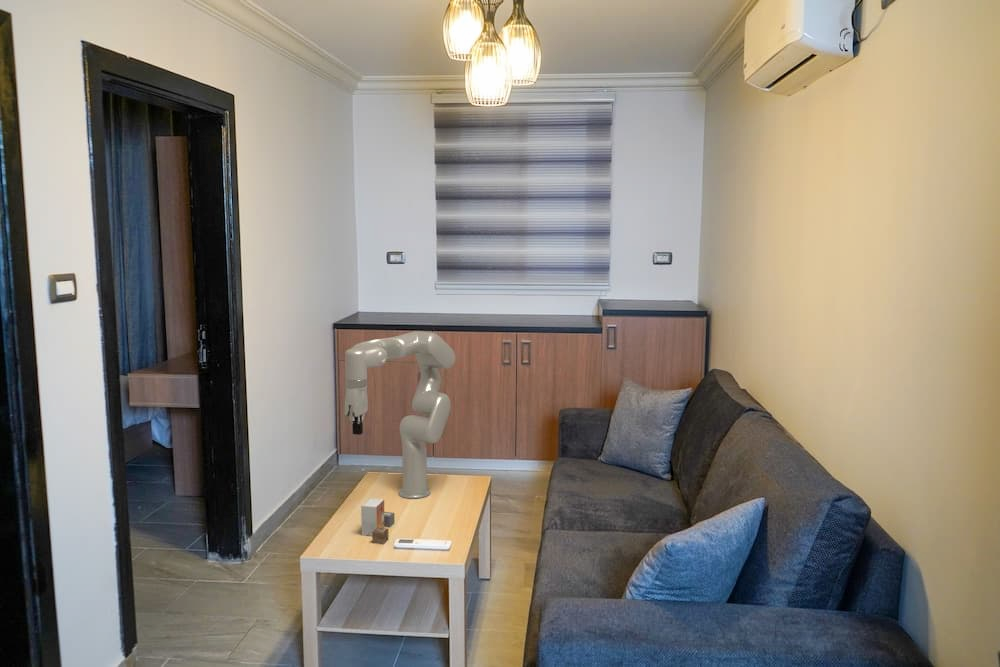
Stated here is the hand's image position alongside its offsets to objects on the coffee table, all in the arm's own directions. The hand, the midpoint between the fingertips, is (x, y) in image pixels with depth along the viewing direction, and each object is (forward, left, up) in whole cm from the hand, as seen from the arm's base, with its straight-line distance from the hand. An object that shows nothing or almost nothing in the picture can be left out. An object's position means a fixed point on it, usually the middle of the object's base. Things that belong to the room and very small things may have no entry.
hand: (357, 433), depth 267 cm
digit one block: (+3, +12, -32) cm, 34 cm away
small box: (+10, +10, -32) cm, 35 cm away
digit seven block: (+17, +16, -32) cm, 39 cm away
